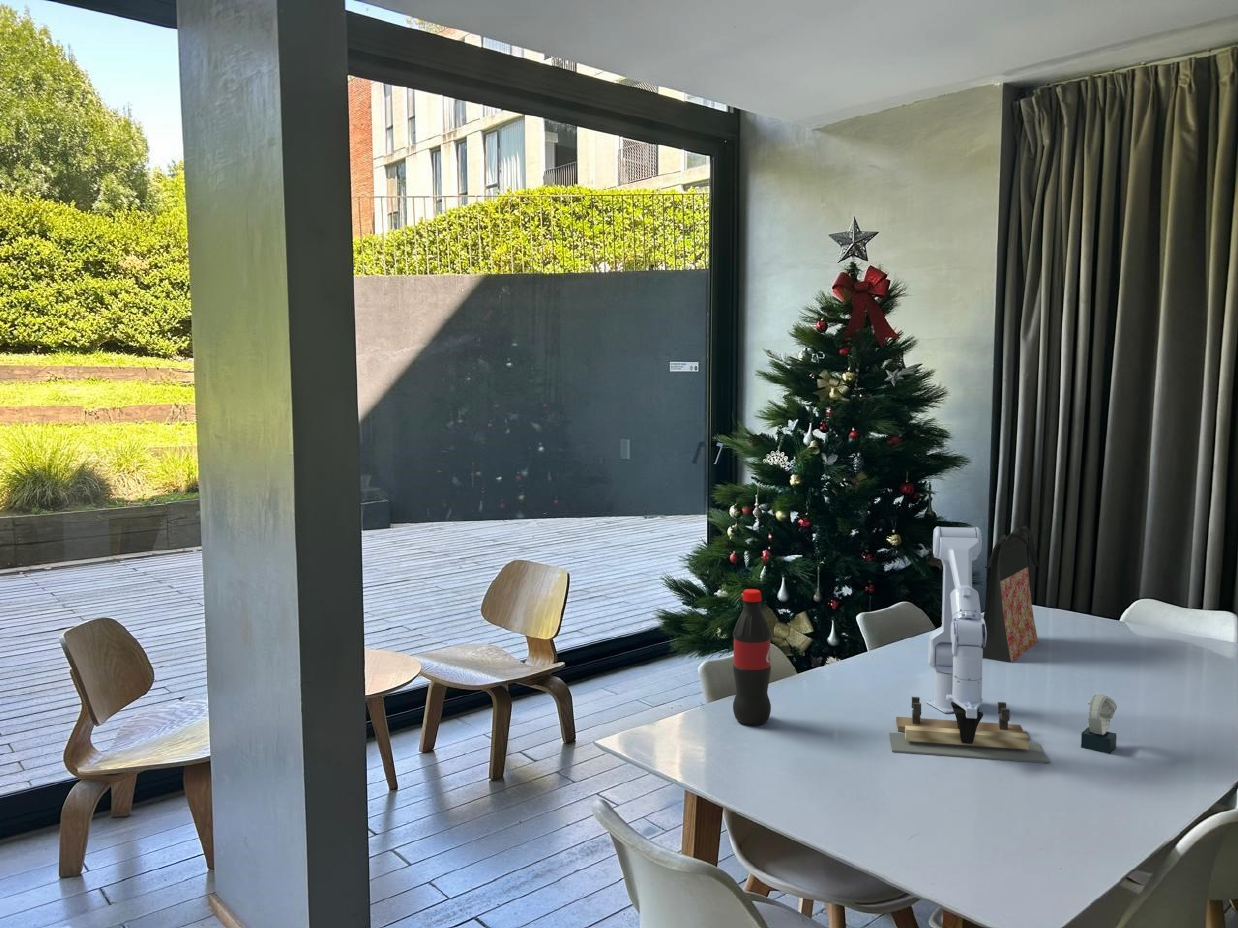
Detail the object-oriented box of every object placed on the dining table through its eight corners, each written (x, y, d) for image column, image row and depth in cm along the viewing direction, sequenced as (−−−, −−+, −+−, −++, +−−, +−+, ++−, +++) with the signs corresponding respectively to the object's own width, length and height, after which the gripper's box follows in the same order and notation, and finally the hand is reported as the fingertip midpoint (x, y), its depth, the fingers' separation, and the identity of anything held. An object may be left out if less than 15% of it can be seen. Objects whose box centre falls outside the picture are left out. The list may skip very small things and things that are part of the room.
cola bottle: (775, 717, 215) (775, 587, 213) (764, 729, 207) (765, 595, 205) (739, 712, 219) (739, 584, 216) (728, 724, 211) (727, 592, 208)
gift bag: (1022, 664, 253) (1025, 535, 250) (968, 655, 262) (971, 530, 259) (1051, 640, 276) (1055, 522, 273) (1001, 633, 284) (1004, 518, 281)
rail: (1026, 744, 194) (1026, 733, 194) (1028, 749, 192) (1028, 737, 192) (904, 736, 200) (905, 725, 199) (905, 740, 197) (905, 729, 197)
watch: (1118, 745, 197) (1120, 693, 196) (1107, 756, 191) (1109, 703, 190) (1089, 738, 200) (1091, 688, 200) (1077, 749, 195) (1079, 697, 194)
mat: (1038, 744, 197) (1038, 742, 197) (1048, 763, 188) (1048, 761, 188) (889, 734, 204) (889, 732, 204) (892, 751, 194) (892, 749, 194)
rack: (1020, 729, 206) (1020, 702, 205) (1025, 740, 200) (1026, 711, 199) (896, 721, 211) (896, 694, 211) (898, 731, 206) (898, 703, 205)
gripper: (942, 664, 203) (941, 726, 204) (951, 686, 188) (949, 752, 190) (977, 666, 201) (976, 728, 202) (988, 688, 187) (987, 754, 188)
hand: (965, 740), depth 196 cm, fingers closed on rail, 2 cm apart
